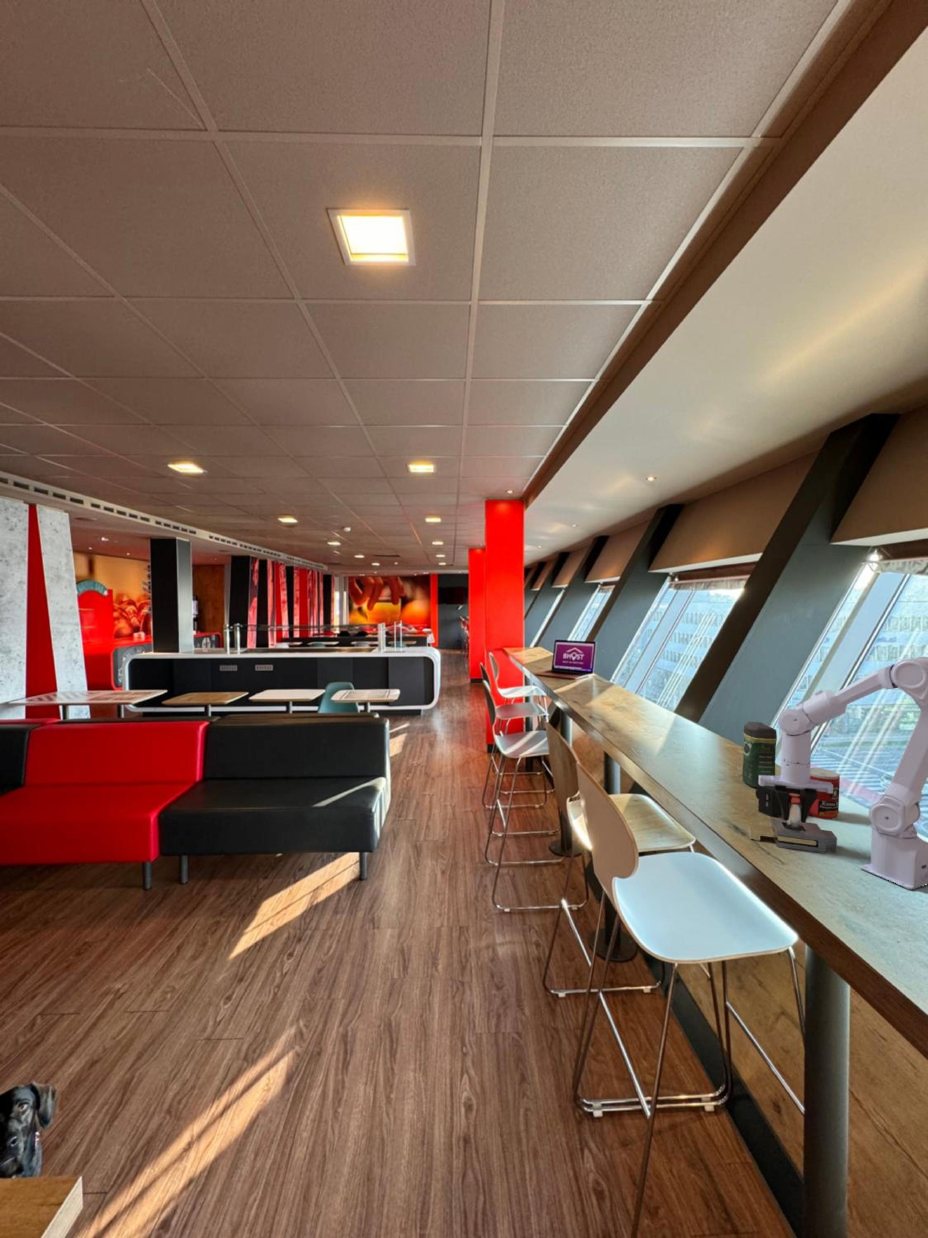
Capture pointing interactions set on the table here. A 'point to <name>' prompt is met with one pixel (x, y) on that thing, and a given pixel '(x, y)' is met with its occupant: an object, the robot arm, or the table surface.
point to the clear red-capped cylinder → (794, 812)
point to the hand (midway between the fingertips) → (793, 820)
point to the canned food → (825, 794)
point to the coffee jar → (758, 752)
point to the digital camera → (771, 800)
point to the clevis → (796, 836)
